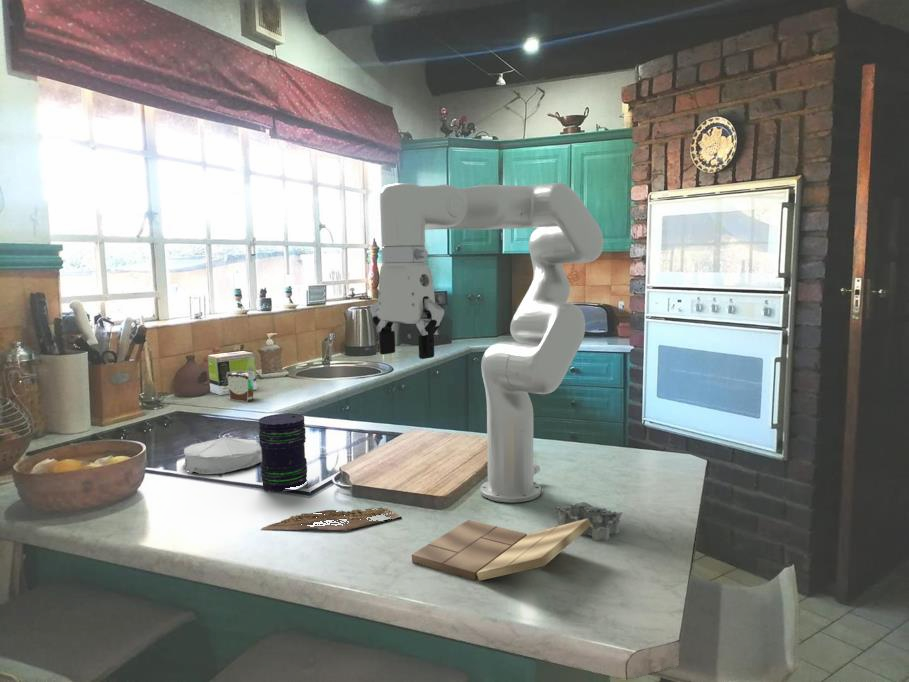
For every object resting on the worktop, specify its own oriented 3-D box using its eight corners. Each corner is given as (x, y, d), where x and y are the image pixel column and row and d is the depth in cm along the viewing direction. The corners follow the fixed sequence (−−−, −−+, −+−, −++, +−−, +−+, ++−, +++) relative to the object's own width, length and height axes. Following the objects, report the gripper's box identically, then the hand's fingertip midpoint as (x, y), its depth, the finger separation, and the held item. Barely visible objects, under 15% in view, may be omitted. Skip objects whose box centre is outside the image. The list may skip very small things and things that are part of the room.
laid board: (468, 526, 122) (468, 519, 122) (526, 540, 115) (526, 533, 115) (411, 561, 108) (411, 554, 108) (474, 580, 101) (474, 572, 101)
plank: (531, 540, 115) (528, 533, 115) (590, 525, 108) (587, 518, 108) (479, 580, 101) (476, 572, 101) (544, 565, 94) (540, 557, 94)
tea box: (247, 386, 266) (244, 350, 264) (257, 390, 258) (255, 352, 257) (209, 392, 257) (207, 354, 255) (219, 395, 249) (216, 356, 247)
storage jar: (273, 496, 140) (269, 426, 138) (254, 484, 147) (250, 418, 145) (315, 485, 146) (313, 418, 144) (295, 474, 154) (292, 411, 152)
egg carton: (552, 527, 121) (551, 506, 121) (577, 516, 126) (577, 495, 126) (601, 544, 114) (601, 521, 113) (626, 532, 119) (626, 509, 118)
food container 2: (264, 399, 241) (262, 371, 240) (250, 402, 236) (249, 374, 234) (240, 396, 247) (239, 369, 246) (227, 399, 242) (225, 372, 241)
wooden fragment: (400, 508, 132) (400, 503, 132) (403, 530, 121) (402, 525, 121) (267, 517, 129) (267, 512, 129) (257, 540, 118) (257, 535, 118)
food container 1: (171, 463, 166) (169, 436, 165) (249, 447, 178) (248, 422, 177) (194, 484, 151) (192, 455, 150) (279, 465, 162) (277, 438, 161)
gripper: (455, 256, 112) (457, 357, 114) (385, 258, 123) (388, 349, 125) (425, 256, 106) (427, 362, 108) (354, 258, 118) (358, 354, 120)
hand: (406, 355), depth 117 cm, fingers open, 9 cm apart
